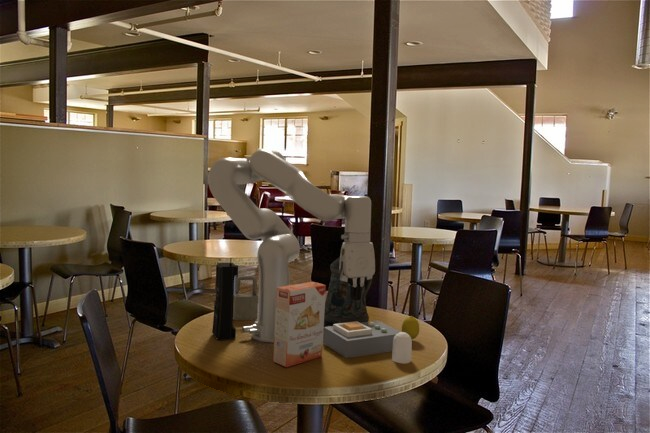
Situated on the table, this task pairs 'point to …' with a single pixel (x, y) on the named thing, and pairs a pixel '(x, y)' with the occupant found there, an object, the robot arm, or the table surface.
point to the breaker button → (352, 326)
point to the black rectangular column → (224, 301)
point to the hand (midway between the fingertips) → (355, 299)
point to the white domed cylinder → (402, 348)
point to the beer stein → (344, 300)
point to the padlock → (245, 301)
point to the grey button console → (360, 339)
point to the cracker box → (299, 323)
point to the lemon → (411, 327)
